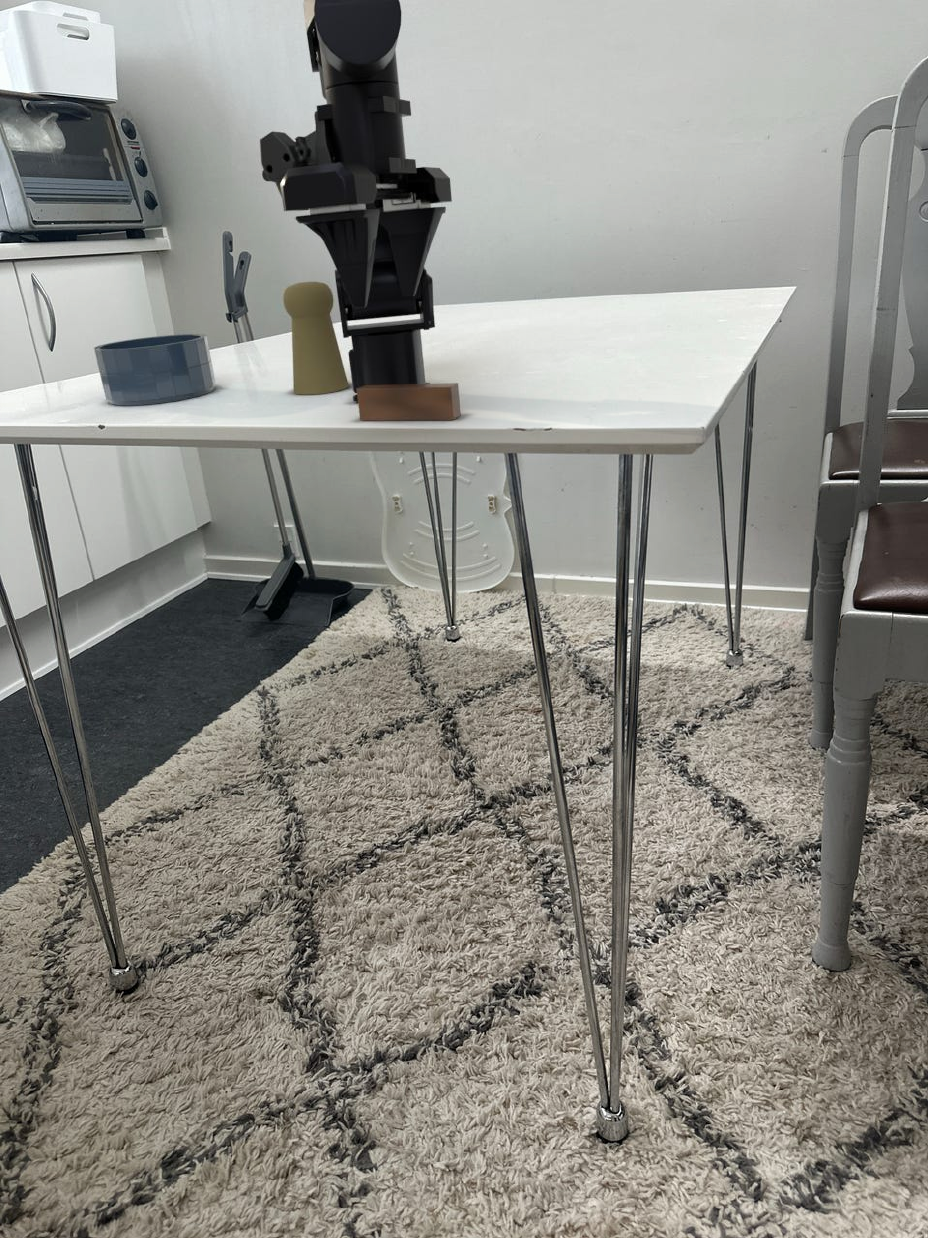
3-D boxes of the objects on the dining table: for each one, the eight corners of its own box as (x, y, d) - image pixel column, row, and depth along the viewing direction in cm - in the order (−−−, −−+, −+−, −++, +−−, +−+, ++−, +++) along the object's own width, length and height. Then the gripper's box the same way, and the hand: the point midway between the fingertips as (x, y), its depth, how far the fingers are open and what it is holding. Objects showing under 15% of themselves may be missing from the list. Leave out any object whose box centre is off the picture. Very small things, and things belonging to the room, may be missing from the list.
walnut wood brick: (461, 415, 78) (458, 382, 76) (453, 420, 76) (450, 386, 75) (369, 416, 81) (365, 384, 80) (360, 420, 79) (355, 388, 78)
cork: (338, 393, 94) (322, 282, 90) (284, 395, 95) (267, 286, 91) (356, 383, 99) (342, 277, 95) (305, 385, 101) (290, 282, 96)
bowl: (233, 383, 107) (224, 331, 104) (183, 403, 96) (172, 346, 94) (143, 388, 110) (132, 337, 107) (84, 408, 99) (70, 352, 96)
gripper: (331, 111, 80) (354, 295, 86) (202, 91, 64) (241, 319, 70) (445, 93, 75) (461, 289, 82) (337, 68, 60) (366, 312, 66)
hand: (385, 301), depth 75 cm, fingers open, 9 cm apart
